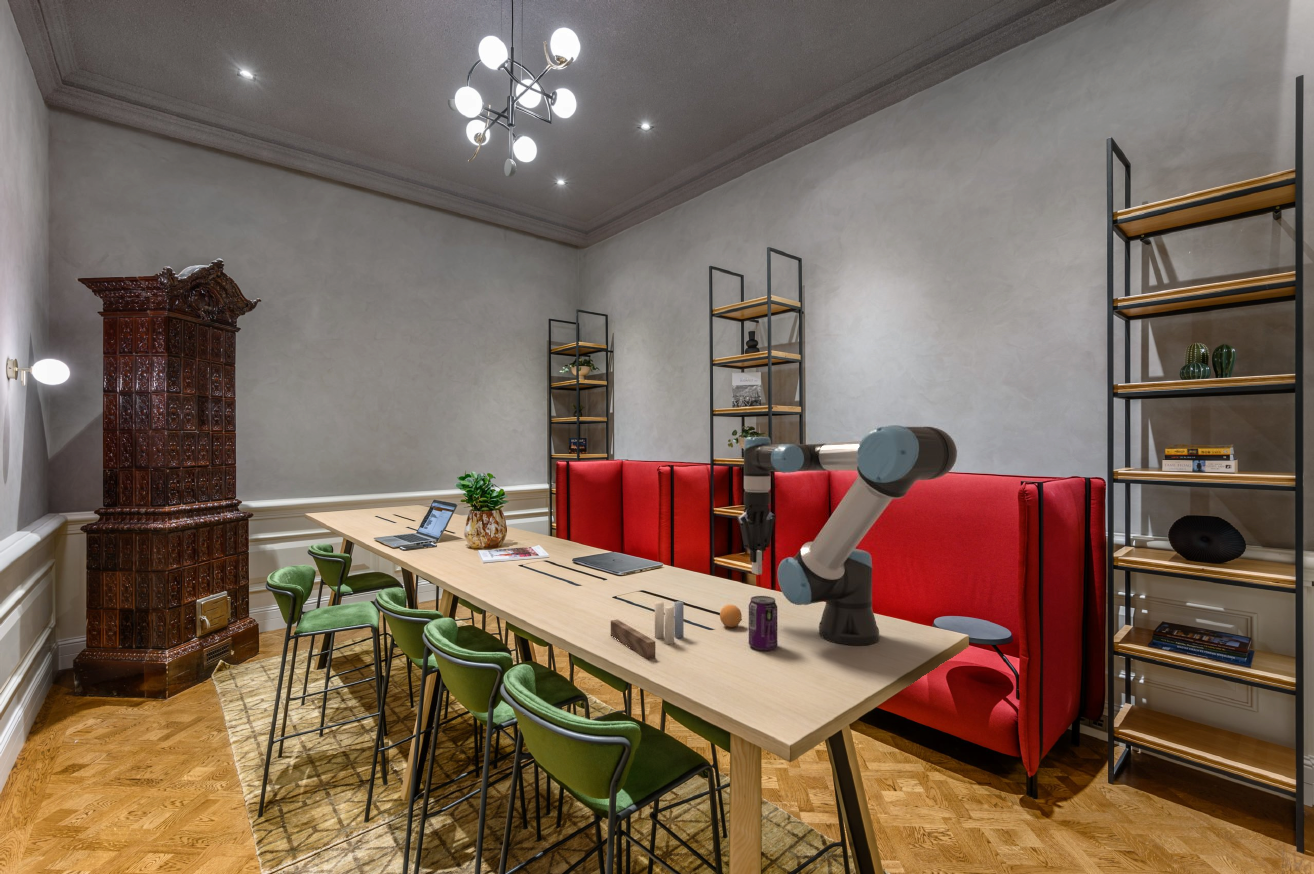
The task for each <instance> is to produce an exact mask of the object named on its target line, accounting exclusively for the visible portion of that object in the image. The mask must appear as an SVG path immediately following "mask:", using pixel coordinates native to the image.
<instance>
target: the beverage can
mask: <svg viewBox="0 0 1314 874" xmlns="http://www.w3.org/2000/svg"><path fill="white" fill-rule="evenodd" d="M778 642H779V641H778V605H777V603H776V598H774V597H771V596H768V595H754V596H751V597H750V602H749V603H748V645H749V646H750V647H752V648H753V649H755V650H759V651H771V650H773V649H775V648H777V647H778V644H779V643H778Z"/></svg>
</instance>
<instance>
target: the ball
mask: <svg viewBox="0 0 1314 874" xmlns="http://www.w3.org/2000/svg"><path fill="white" fill-rule="evenodd" d="M742 617H743V614H742V612H741V609H740V608H739V607H738V606H736V605H734V604H727V605H724V606H723V607H722V608H721V610H720V613H719V620H720V621H721V623H722V624H723V625H724V626H726V627H728V628H735V627H736V626H738V625H739V624H740V623H741V621H742Z"/></svg>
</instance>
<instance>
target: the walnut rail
mask: <svg viewBox="0 0 1314 874" xmlns="http://www.w3.org/2000/svg"><path fill="white" fill-rule="evenodd" d="M611 635H612V636H614V637H615V638H616V639H615V638H614V639H615V640H617V639H618V640H619V641H618V640H617V641H618V642H619V643H621V642H622V643H621V644H623V643H624V644H625V646H626V645H627V646H628V648H629V647H630V648H629V649H631V650H632V649H633V650H632V651H634V652H635V651H636V652H635V653H637V654H638V653H639V655H640V656H641V655H642V657H643V658H644V657H645V660H648V661H650V660H653V659H656V640H654V639H653V638H650V637H649V636H648V635H645V634H643V633H642V632H640V631H639V630H637V629H635V628H633V627H631V626H630V625H628V624H626V623H624V622H623V621H621V620H620V619H616V618H615V619H612V620H610V636H611ZM612 636H611V637H612ZM624 644H623V645H624ZM627 646H626V647H627Z"/></svg>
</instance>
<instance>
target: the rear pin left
mask: <svg viewBox="0 0 1314 874" xmlns="http://www.w3.org/2000/svg"><path fill="white" fill-rule="evenodd" d="M674 643H675V637H674V606H671V605H666V606H664V644H666V645H673V644H674Z"/></svg>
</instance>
